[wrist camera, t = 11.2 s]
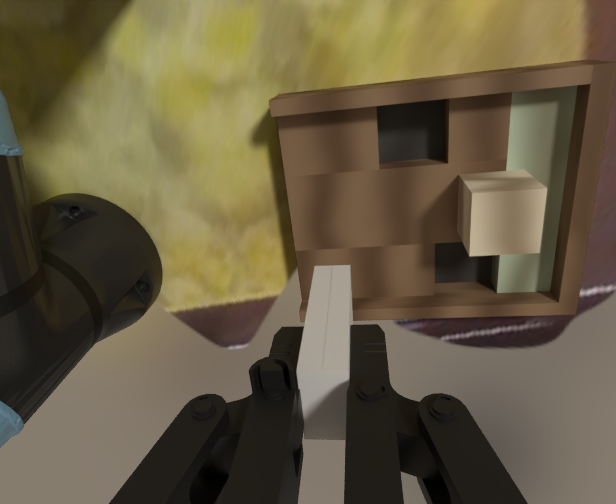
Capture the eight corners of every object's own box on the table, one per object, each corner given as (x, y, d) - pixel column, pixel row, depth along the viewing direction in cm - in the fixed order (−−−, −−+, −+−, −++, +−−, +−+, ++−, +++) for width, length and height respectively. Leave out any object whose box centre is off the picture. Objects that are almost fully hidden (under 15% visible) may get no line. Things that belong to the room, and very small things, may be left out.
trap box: (306, 297, 45) (300, 322, 41) (279, 94, 37) (268, 100, 33) (555, 287, 42) (576, 314, 38) (587, 59, 33) (617, 62, 29)
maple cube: (457, 231, 38) (469, 256, 33) (458, 174, 36) (472, 193, 31) (518, 227, 37) (539, 253, 33) (524, 169, 35) (547, 188, 30)
